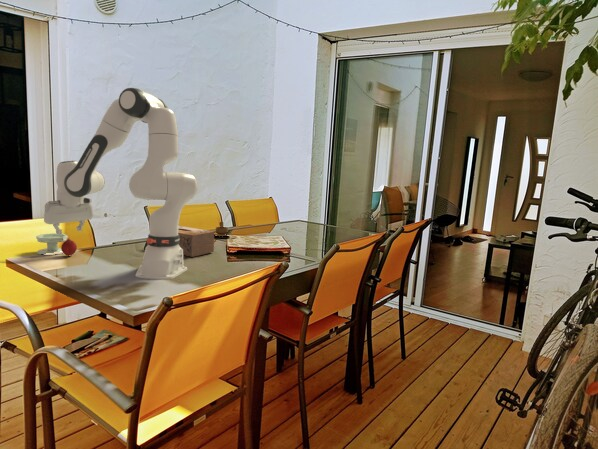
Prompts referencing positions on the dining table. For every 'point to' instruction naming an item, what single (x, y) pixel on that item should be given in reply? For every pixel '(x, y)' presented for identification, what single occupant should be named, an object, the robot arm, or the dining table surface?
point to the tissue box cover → (195, 241)
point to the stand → (51, 242)
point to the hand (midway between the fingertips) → (69, 232)
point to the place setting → (221, 230)
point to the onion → (69, 247)
